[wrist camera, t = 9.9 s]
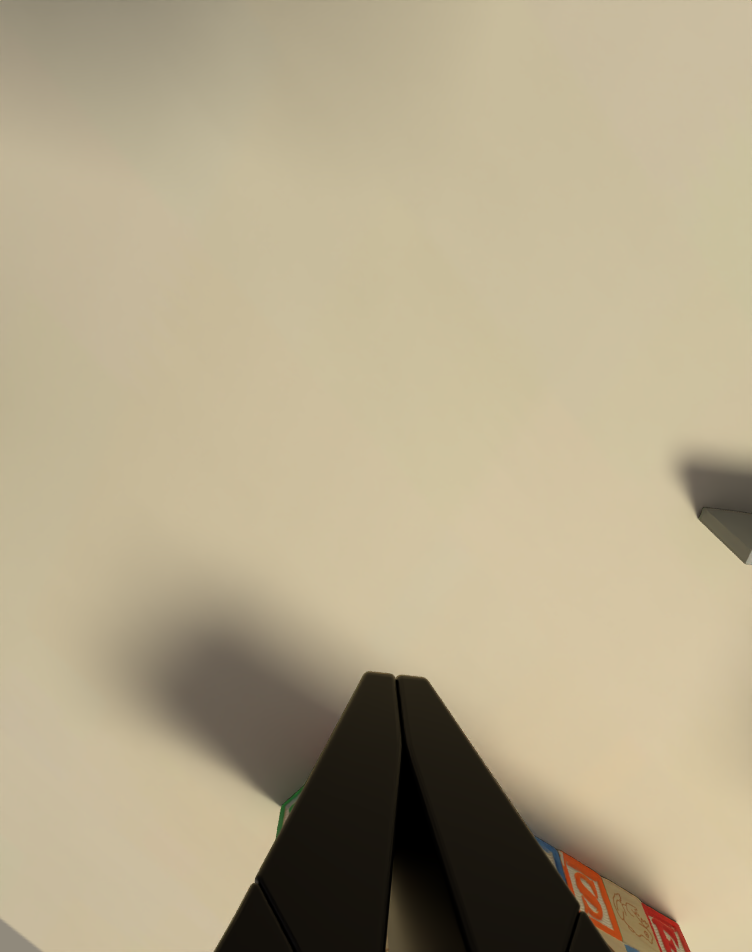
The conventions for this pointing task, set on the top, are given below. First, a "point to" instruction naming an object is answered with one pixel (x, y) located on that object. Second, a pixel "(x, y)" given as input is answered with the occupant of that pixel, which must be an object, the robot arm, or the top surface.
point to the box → (731, 530)
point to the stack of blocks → (598, 905)
